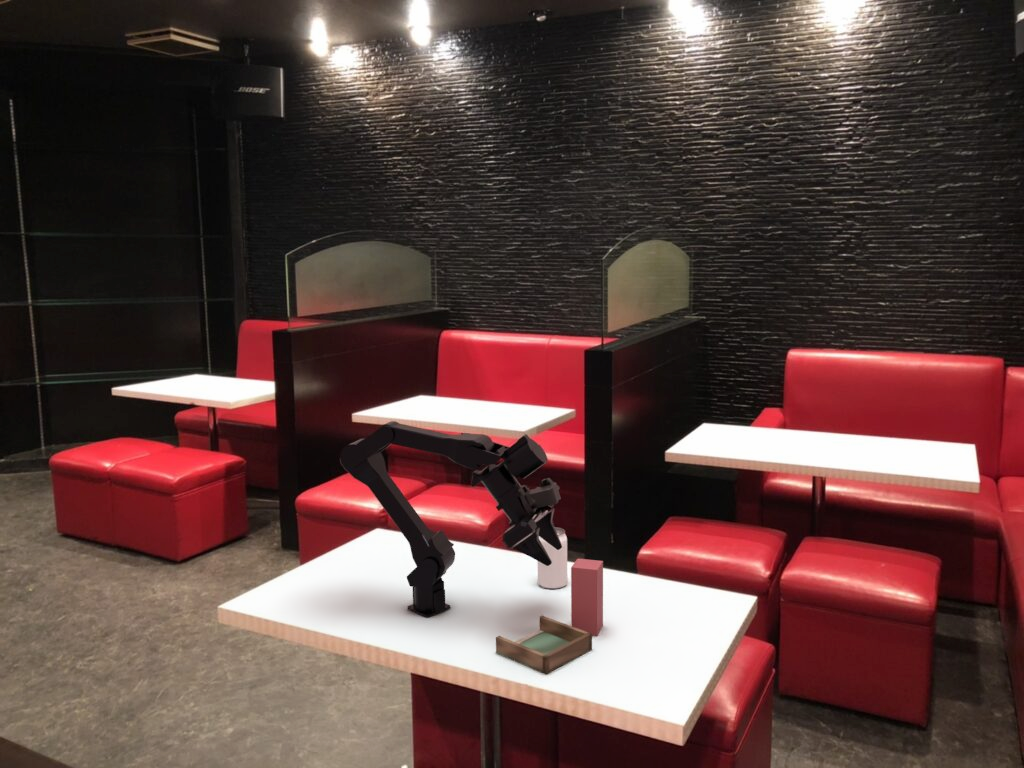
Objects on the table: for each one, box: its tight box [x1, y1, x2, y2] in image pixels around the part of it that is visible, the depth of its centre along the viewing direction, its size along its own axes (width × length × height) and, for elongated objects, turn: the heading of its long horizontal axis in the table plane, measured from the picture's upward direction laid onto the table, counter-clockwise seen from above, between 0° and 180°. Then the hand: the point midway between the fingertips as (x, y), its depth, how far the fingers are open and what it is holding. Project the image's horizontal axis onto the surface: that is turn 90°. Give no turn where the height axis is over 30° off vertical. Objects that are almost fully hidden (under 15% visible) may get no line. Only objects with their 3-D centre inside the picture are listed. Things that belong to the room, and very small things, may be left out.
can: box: [537, 526, 568, 590], centre depth 184 cm, size 6×6×12 cm
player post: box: [570, 558, 604, 637], centre depth 161 cm, size 5×5×13 cm
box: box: [495, 615, 593, 675], centre depth 152 cm, size 12×13×3 cm
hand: (555, 556), depth 163 cm, fingers open, 9 cm apart
